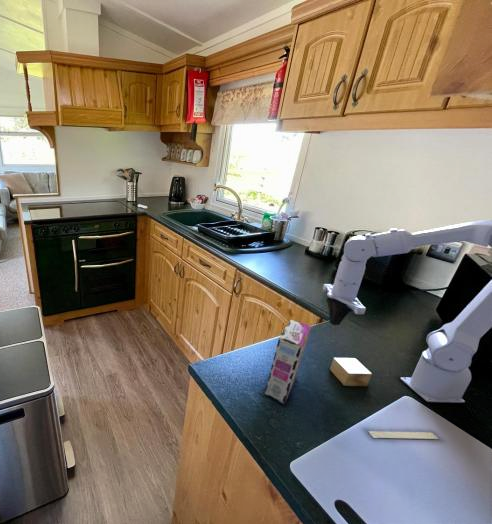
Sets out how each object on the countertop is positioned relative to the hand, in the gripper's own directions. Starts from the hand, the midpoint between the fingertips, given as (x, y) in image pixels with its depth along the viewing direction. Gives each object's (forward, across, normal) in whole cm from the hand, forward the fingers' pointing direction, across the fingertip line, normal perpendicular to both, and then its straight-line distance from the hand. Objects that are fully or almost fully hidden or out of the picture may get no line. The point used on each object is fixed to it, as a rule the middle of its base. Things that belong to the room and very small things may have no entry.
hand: (334, 323), depth 83 cm
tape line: (+10, +27, 0) cm, 29 cm away
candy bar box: (+11, +14, -20) cm, 27 cm away
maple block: (+10, +10, 0) cm, 14 cm away
